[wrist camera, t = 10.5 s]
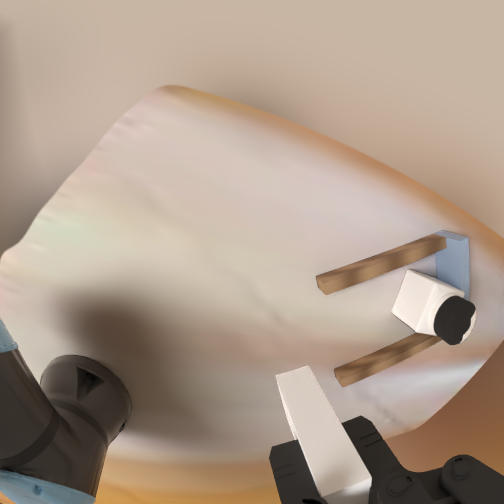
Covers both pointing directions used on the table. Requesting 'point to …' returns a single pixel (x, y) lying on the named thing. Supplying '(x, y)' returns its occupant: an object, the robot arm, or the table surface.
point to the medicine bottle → (434, 308)
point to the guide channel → (372, 269)
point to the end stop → (454, 262)
